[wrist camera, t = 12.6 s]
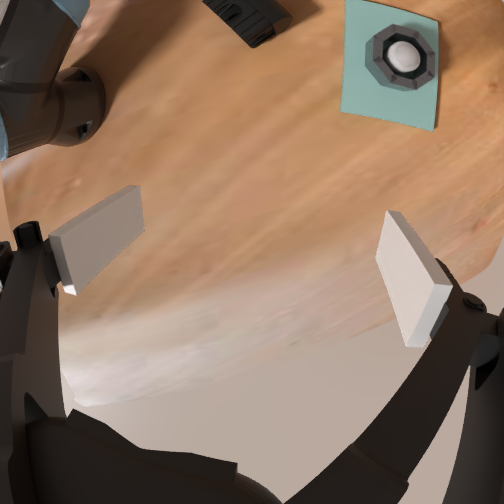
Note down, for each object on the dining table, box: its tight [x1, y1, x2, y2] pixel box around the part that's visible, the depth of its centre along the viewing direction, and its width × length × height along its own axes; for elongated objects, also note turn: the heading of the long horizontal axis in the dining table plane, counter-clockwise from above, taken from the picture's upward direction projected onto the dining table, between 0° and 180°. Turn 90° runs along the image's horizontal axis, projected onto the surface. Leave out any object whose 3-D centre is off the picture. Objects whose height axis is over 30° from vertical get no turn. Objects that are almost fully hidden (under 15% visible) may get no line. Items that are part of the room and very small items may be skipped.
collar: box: [365, 24, 435, 91], centre depth 27 cm, size 8×8×5 cm
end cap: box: [202, 0, 292, 48], centre depth 28 cm, size 10×7×7 cm
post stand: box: [340, 0, 439, 132], centre depth 27 cm, size 14×18×8 cm
